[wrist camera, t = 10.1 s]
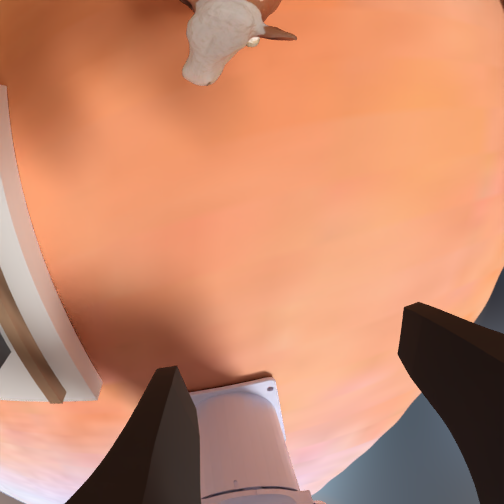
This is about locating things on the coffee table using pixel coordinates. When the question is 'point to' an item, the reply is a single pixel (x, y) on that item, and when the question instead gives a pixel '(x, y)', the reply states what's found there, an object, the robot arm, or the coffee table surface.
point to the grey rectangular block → (3, 351)
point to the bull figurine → (225, 34)
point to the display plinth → (33, 303)
